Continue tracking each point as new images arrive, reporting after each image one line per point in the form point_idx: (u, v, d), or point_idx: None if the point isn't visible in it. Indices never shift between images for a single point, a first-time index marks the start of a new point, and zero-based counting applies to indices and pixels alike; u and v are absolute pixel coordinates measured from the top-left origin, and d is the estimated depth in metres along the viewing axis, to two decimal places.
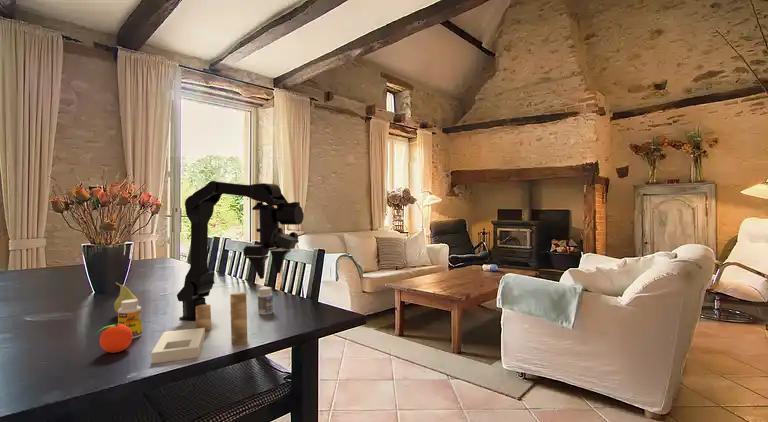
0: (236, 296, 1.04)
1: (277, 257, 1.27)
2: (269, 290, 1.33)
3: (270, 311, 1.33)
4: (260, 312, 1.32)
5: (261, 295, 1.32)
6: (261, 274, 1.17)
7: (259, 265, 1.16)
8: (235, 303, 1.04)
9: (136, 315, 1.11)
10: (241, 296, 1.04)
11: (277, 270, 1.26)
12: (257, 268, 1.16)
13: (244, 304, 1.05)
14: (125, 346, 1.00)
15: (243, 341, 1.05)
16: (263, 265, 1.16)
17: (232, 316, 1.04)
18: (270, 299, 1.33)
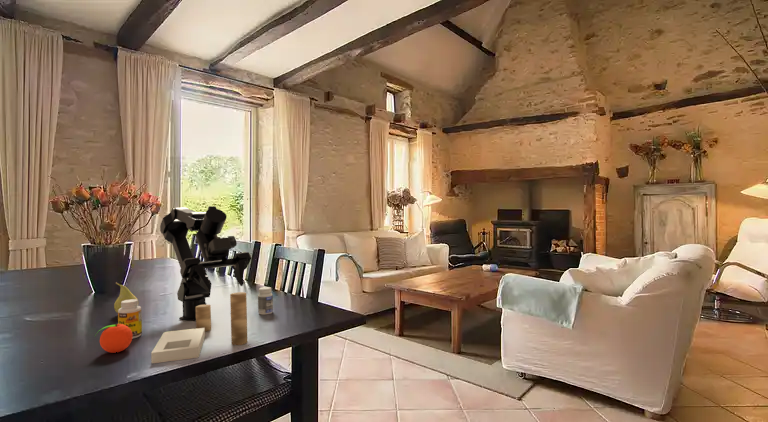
0: (236, 296, 1.04)
1: (237, 272, 1.17)
2: (269, 290, 1.33)
3: (270, 311, 1.33)
4: (260, 312, 1.32)
5: (261, 295, 1.32)
6: (206, 286, 1.08)
7: (200, 279, 1.09)
8: (235, 303, 1.04)
9: (136, 315, 1.11)
10: (241, 296, 1.04)
11: (240, 283, 1.15)
12: (201, 283, 1.09)
13: (244, 304, 1.05)
14: (125, 346, 1.00)
15: (243, 341, 1.05)
16: (202, 276, 1.09)
17: (232, 316, 1.04)
18: (270, 299, 1.33)
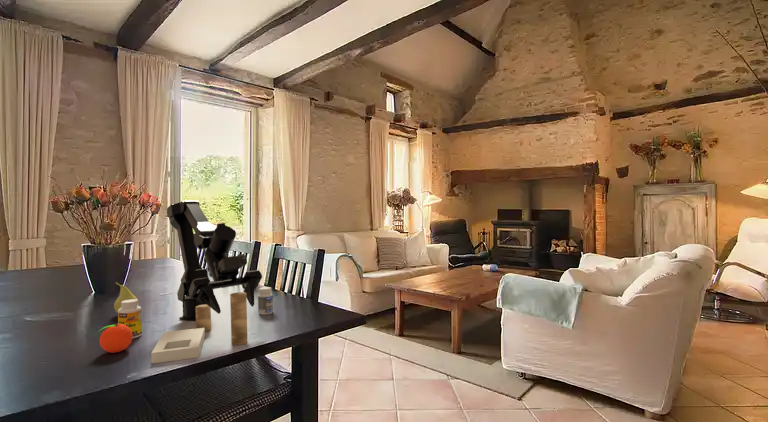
0: (236, 296, 1.04)
1: (247, 291, 1.13)
2: (269, 290, 1.33)
3: (270, 311, 1.33)
4: (260, 312, 1.32)
5: (261, 295, 1.32)
6: (216, 308, 1.03)
7: (210, 300, 1.05)
8: (235, 303, 1.04)
9: (136, 315, 1.11)
10: (241, 296, 1.04)
11: (251, 303, 1.10)
12: (211, 304, 1.04)
13: (244, 304, 1.05)
14: (125, 346, 1.00)
15: (243, 341, 1.05)
16: (212, 297, 1.04)
17: (232, 316, 1.04)
18: (270, 299, 1.33)
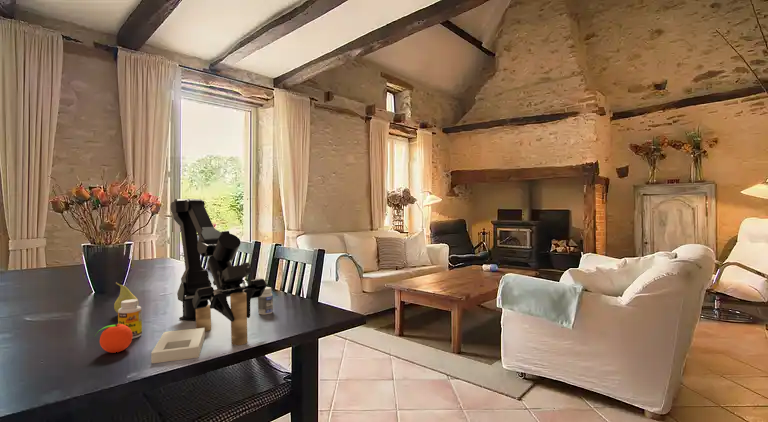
0: (236, 296, 1.04)
1: None
2: (269, 290, 1.33)
3: (270, 311, 1.33)
4: (260, 312, 1.32)
5: (261, 295, 1.32)
6: (229, 316, 1.03)
7: (223, 308, 1.04)
8: (235, 303, 1.04)
9: (136, 315, 1.11)
10: (241, 296, 1.04)
11: (247, 315, 1.07)
12: (224, 312, 1.04)
13: (244, 304, 1.05)
14: (125, 346, 1.00)
15: (243, 341, 1.05)
16: (225, 305, 1.04)
17: None
18: (270, 299, 1.33)
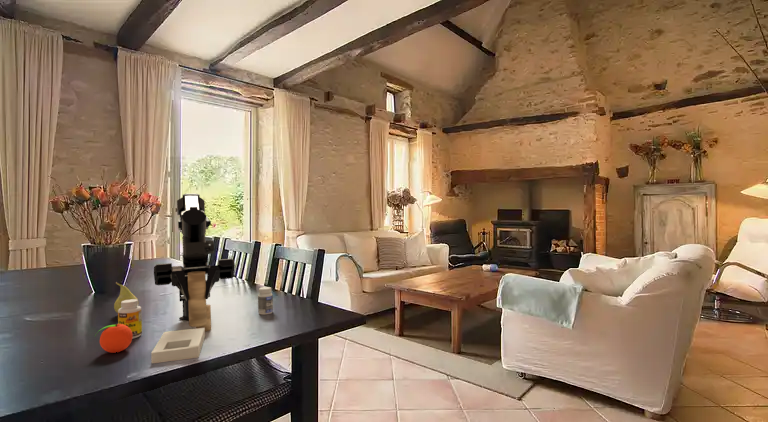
0: (191, 274, 0.98)
1: None
2: (269, 290, 1.33)
3: (270, 311, 1.33)
4: (260, 312, 1.32)
5: (261, 295, 1.32)
6: (184, 295, 0.98)
7: (181, 286, 0.99)
8: (190, 282, 0.98)
9: (136, 315, 1.11)
10: (196, 275, 0.98)
11: None
12: (182, 291, 0.99)
13: (200, 284, 0.98)
14: (125, 346, 1.00)
15: (199, 323, 0.98)
16: (182, 283, 0.99)
17: (188, 295, 0.98)
18: (270, 299, 1.33)
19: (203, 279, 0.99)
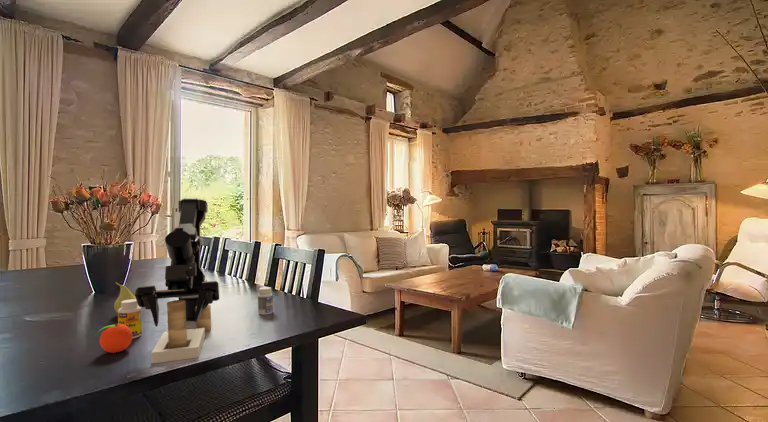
0: (169, 304, 0.96)
1: None
2: (269, 290, 1.33)
3: (270, 311, 1.33)
4: (260, 312, 1.32)
5: (261, 295, 1.32)
6: None
7: None
8: (168, 312, 0.96)
9: (136, 315, 1.11)
10: (174, 305, 0.96)
11: (195, 318, 0.99)
12: None
13: (179, 314, 0.97)
14: (125, 346, 1.00)
15: None
16: (152, 308, 0.97)
17: (168, 325, 0.97)
18: (270, 299, 1.33)
19: (182, 309, 0.97)
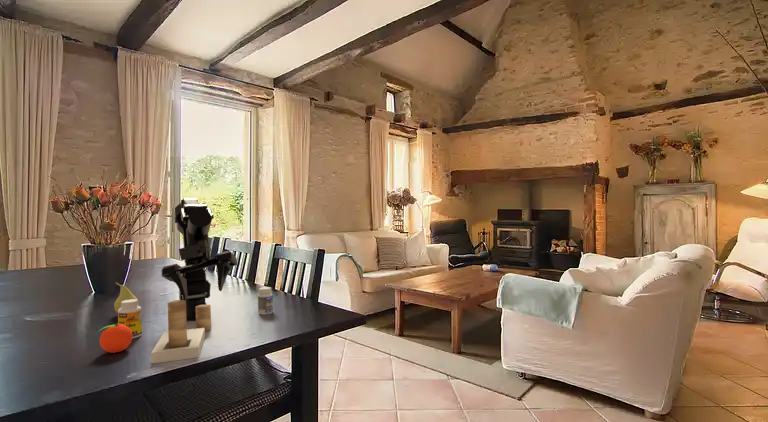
0: (170, 304, 0.96)
1: None
2: (269, 290, 1.33)
3: (270, 311, 1.33)
4: (260, 312, 1.32)
5: (261, 295, 1.32)
6: None
7: None
8: (169, 312, 0.96)
9: (136, 315, 1.11)
10: (175, 305, 0.96)
11: None
12: None
13: (179, 314, 0.97)
14: (125, 346, 1.00)
15: None
16: (178, 285, 1.08)
17: (168, 325, 0.97)
18: (270, 299, 1.33)
19: (182, 309, 0.97)
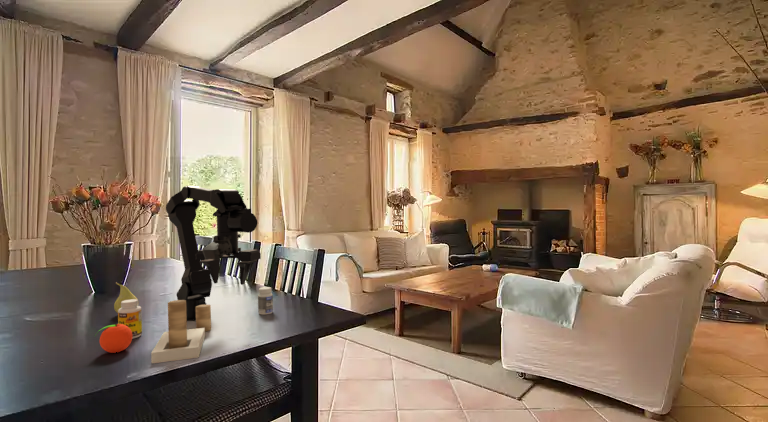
0: (170, 304, 0.96)
1: None
2: (269, 290, 1.33)
3: (270, 311, 1.33)
4: (260, 312, 1.32)
5: (261, 295, 1.32)
6: None
7: None
8: (169, 312, 0.96)
9: (136, 315, 1.11)
10: (175, 305, 0.96)
11: None
12: None
13: (179, 314, 0.97)
14: (125, 346, 1.00)
15: None
16: (209, 270, 1.19)
17: (168, 325, 0.97)
18: (270, 299, 1.33)
19: (183, 309, 0.97)
